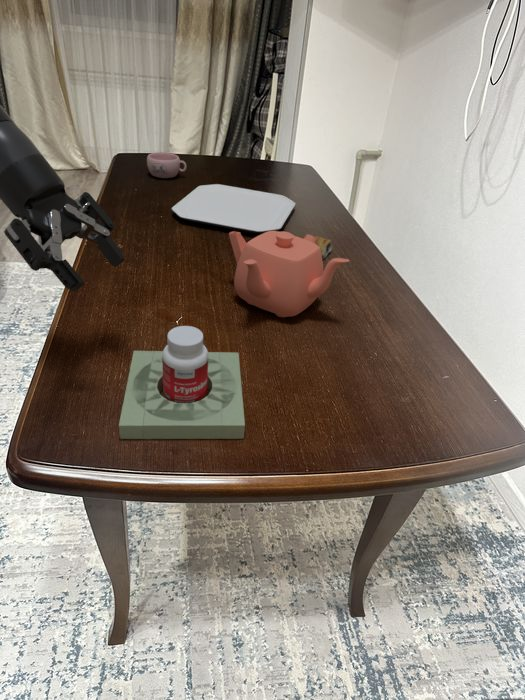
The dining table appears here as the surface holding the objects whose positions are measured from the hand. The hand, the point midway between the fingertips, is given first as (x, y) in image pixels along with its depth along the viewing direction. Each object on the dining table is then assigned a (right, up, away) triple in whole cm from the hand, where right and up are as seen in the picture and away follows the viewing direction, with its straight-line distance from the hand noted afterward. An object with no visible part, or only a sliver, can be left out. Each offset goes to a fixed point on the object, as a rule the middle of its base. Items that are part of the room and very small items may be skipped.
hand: (100, 275), depth 66 cm
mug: (-8, +44, +87) cm, 97 cm away
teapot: (+25, -1, +30) cm, 39 cm away
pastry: (+33, +13, +50) cm, 62 cm away
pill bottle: (+10, -17, +5) cm, 21 cm away
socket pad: (+10, -17, +5) cm, 21 cm away
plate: (+14, +27, +67) cm, 73 cm away
